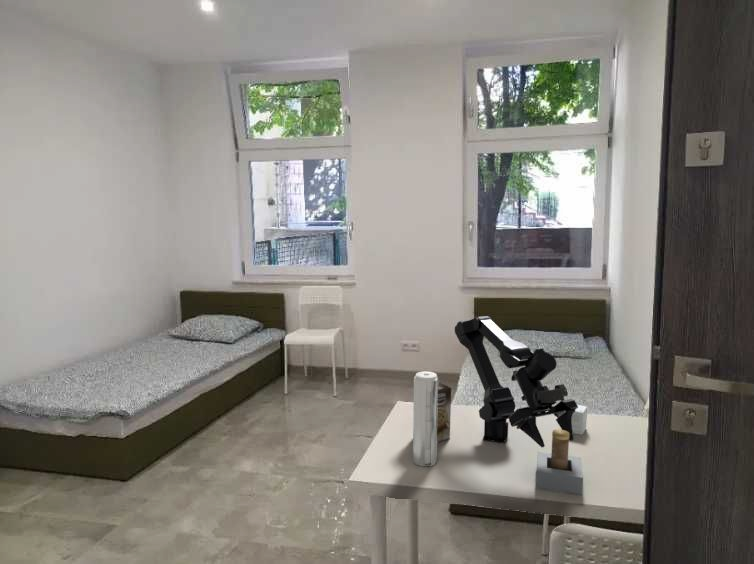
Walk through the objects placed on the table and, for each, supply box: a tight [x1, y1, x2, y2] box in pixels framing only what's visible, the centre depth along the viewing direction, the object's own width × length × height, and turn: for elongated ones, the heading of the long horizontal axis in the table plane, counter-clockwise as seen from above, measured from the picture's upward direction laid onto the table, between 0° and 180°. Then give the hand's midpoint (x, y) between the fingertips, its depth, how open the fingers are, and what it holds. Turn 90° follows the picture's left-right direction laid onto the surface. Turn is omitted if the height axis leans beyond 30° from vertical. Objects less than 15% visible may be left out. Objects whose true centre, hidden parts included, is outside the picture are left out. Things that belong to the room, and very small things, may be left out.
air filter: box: [412, 371, 439, 467], centre depth 151 cm, size 6×6×25 cm
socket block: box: [535, 451, 584, 496], centre depth 142 cm, size 11×11×4 cm
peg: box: [551, 428, 570, 471], centre depth 141 cm, size 4×4×13 cm
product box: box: [571, 404, 588, 436], centre depth 172 cm, size 6×6×7 cm
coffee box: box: [437, 381, 452, 442], centre depth 166 cm, size 9×6×16 cm
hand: (557, 443), depth 142 cm, fingers open, 9 cm apart
